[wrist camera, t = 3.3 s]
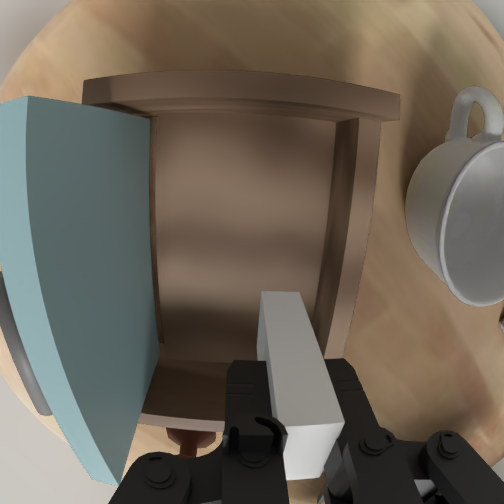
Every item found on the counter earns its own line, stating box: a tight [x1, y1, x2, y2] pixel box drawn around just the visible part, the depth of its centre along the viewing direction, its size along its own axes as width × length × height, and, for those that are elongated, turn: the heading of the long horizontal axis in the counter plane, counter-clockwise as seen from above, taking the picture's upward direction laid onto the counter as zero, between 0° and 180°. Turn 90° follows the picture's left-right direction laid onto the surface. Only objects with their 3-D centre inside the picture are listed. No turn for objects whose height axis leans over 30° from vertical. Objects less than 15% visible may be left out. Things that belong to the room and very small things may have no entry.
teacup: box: [405, 86, 504, 306], centre depth 17 cm, size 14×11×8 cm
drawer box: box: [82, 70, 400, 432], centre depth 18 cm, size 20×14×8 cm
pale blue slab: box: [0, 96, 160, 486], centre depth 14 cm, size 17×3×12 cm, turn 177°
